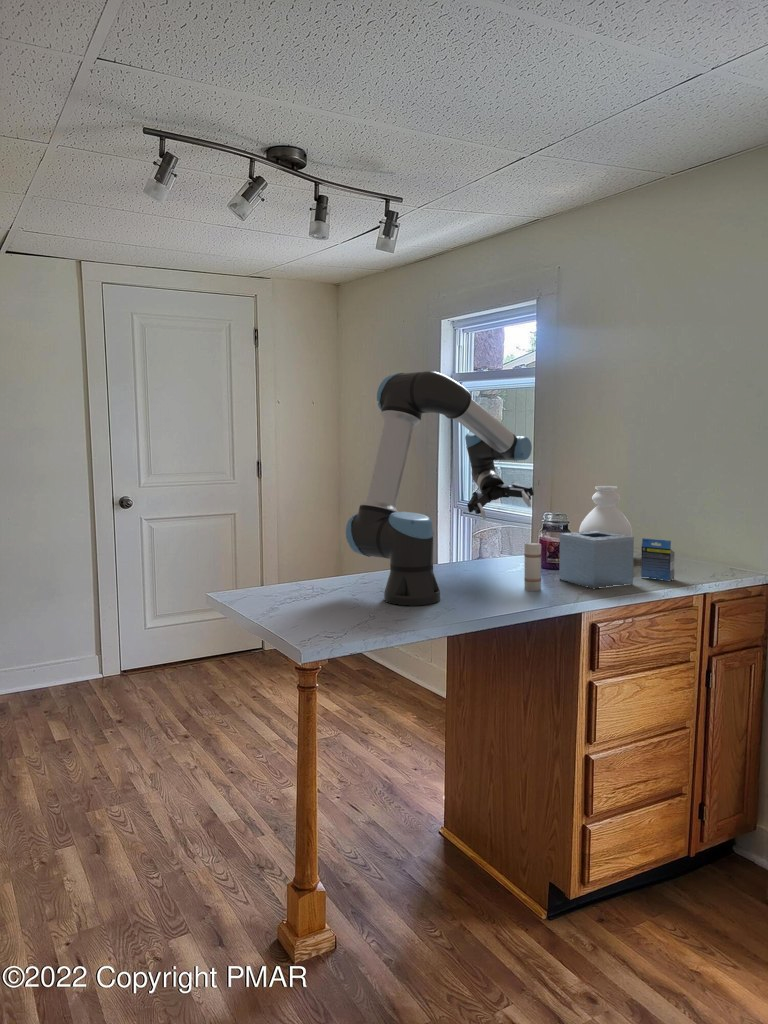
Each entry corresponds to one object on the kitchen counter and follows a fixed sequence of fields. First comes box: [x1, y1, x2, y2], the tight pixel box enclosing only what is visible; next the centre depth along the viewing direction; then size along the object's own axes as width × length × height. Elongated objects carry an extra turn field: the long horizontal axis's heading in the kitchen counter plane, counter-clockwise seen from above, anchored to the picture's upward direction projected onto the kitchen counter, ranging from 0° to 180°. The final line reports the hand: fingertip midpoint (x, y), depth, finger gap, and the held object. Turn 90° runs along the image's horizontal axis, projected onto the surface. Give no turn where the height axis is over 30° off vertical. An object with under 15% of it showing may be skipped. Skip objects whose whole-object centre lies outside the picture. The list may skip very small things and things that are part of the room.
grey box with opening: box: [558, 530, 635, 588], centre depth 217 cm, size 14×16×14 cm
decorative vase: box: [578, 485, 633, 537], centre depth 258 cm, size 18×18×25 cm
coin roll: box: [523, 542, 542, 592], centre depth 209 cm, size 5×5×13 cm
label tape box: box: [640, 537, 675, 582], centre depth 220 cm, size 9×4×12 cm, turn 50°
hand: (506, 508), depth 215 cm, fingers open, 13 cm apart
